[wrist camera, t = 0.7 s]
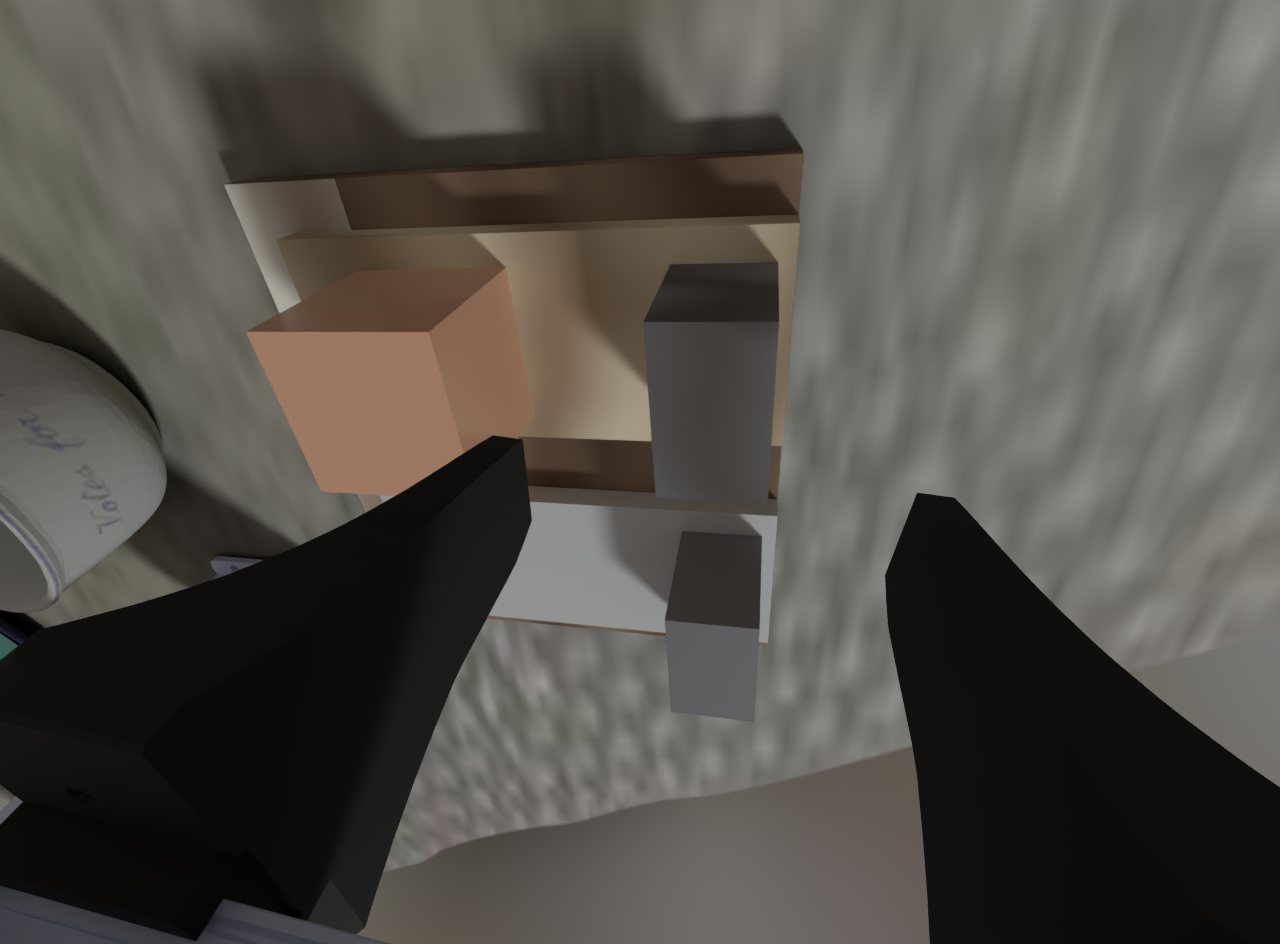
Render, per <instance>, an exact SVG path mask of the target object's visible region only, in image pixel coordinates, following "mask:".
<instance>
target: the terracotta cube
mask: <svg viewBox="0 0 1280 944" xmlns="http://www.w3.org/2000/svg"><path fill="white" fill-rule="evenodd" d="M246 333H247V335H248V338H249V340H250V342H251V344H252V346H253V348H254V350H255V352H256V354H257V356H258V359H259V361H260V363H261V365H262V367H263V369H264V371H265V373H266V375H267V378H268V380H269V382H270V384H271V386H272V388H273V390H274V392H275V394H276V397H277V399H278V401H279V403H280V405H281V407H282V409H283V411H284V413H285V415H286V418H287V420H288V422H289V424H290V426H291V428H292V430H293V432H294V434H295V437H296V439H297V441H298V443H299V445H300V447H301V449H302V451H303V453H304V456H305V458H306V460H307V462H308V464H309V466H310V468H311V470H312V472H313V474H314V477H315V479H316V481H317V483H318V485H319V487H320V489H321V491H322V492H337V493H354V494H371V495H388V496H396V495H397V494H399V493H401V492H403V491H404V490H406V489H408V488H409V487H411V486H413V485H414V484H416V483H417V482H419V481H421V480H422V479H424V478H425V477H427V476H429V475H430V474H432V473H433V472H435V471H437V470H438V469H440V468H441V467H443V466H444V465H446V464H448V463H449V462H451V461H452V460H454V459H455V458H457V457H458V456H460V455H462V454H463V453H465V452H466V451H468V450H469V449H471V448H472V447H474V446H476V445H477V444H479V443H481V442H482V441H484V440H486V439H487V438H489V437H491V436H493V435H494V436H501V437H509V438H516V439H518V438H519V436H520V435H521V433H522V432H523V430H524V429H525V427H526V426H527V424H528V422H529V421H530V419H531V418H532V416H533V415H534V413H535V412H534V407H533V402H532V397H531V392H530V387H529V382H528V377H527V372H526V366H525V361H524V356H523V351H522V346H521V341H520V336H519V331H518V326H517V321H516V316H515V311H514V306H513V301H512V296H511V291H510V286H509V281H508V276H507V271H506V268H465V269H416V270H367V271H356V272H355V273H353V274H351V275H349V276H347V277H345V278H344V279H342V280H340V281H338V282H336V283H334V284H333V285H331V286H329V287H327V288H325V289H323V290H322V291H320V292H318V293H316V294H314V295H312V296H311V297H309V298H307V299H305V300H303V301H301V302H300V303H298V304H296V305H294V306H292V307H290V308H289V309H287V310H285V311H283V312H281V313H279V314H278V315H276V316H274V317H272V318H270V319H268V320H267V321H265V322H263V323H261V324H259V325H257V326H256V327H254V328H252V329H250V330H248V331H246Z"/></svg>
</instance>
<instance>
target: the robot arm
mask: <svg viewBox="0 0 1280 944" xmlns="http://www.w3.org/2000/svg"><path fill="white" fill-rule="evenodd" d="M531 522H532V516H531V507H530V498H529V489H528V480H527V471H526V463H525V454H524V445H523V439H516V438H509V437H501V436H494V435H493V436H491V437H489V438H487V439H486V440H484V441H482V442H481V443H479V444H477V445H476V446H474V447H472V448H471V449H469V450H468V451H466V452H465V453H463V454H462V455H460V456H458V457H457V458H455V459H454V460H452V461H451V462H449V463H448V464H446V465H444V466H443V467H441V468H440V469H438V470H437V471H435V472H433V473H432V474H430V475H429V476H427V477H425V478H424V479H422V480H421V481H419V482H417V483H416V484H414V485H413V486H411V487H409V488H408V489H406V490H404V491H403V492H401V493H399V494H397V495H396V496H394V497H392V498H390V499H389V500H387V501H385V502H383V503H382V504H380V505H378V506H376V507H375V508H373V509H371V510H369V511H368V512H366V513H364V514H362V515H361V516H359V517H357V518H355V519H353V520H351V521H349V522H348V523H346V524H344V525H342V526H340V527H338V528H336V529H334V530H332V531H330V532H327V533H325V534H323V535H321V536H319V537H317V538H315V539H312V540H310V541H308V542H306V543H304V544H302V545H299V546H297V547H295V548H293V549H290V550H288V551H286V552H283V553H280V554H278V555H275V556H273V557H270V558H268V559H265V560H260V559H248V558H237V557H225V556H216V557H215V558H214V559H213V560H212V561H211V566H212V568H213V569H214V571H215V572H216V574H217V575H216V576H215V577H214V578H213V579H212V580H210V581H207V582H205V583H202V584H199V585H196V586H193V587H190V588H187V589H184V590H181V591H177V592H174V593H171V594H168V595H165V596H162V597H158V598H155V599H152V600H149V601H145V602H142V603H138V604H135V605H132V606H128V607H124V608H121V609H117V610H113V611H109V612H105V613H102V614H98V615H94V616H90V617H87V618H83V619H79V620H75V621H72V622H68V623H64V624H60V625H56V626H52V627H48V628H44V629H40V630H38V631H36V632H35V633H33V634H32V635H31V636H29V637H28V638H27V639H26V640H24V641H23V642H22V643H21V644H19V645H18V646H17V647H16V648H15V649H13V650H12V651H11V652H10V653H8V654H7V655H6V656H5V657H3V658H2V659H1V660H0V784H1V785H2V786H3V787H5V788H6V789H7V790H8V791H10V792H11V793H12V794H13V795H15V797H14V798H13V799H12V800H11V801H10V802H9V803H8V804H7V805H6V807H4V808H3V809H2V810H1V811H0V944H389V943H386V942H382V941H378V940H375V939H371V938H367V937H363V936H360V935H356V934H357V933H359V932H360V931H361V930H362V929H363V928H365V926H366V923H367V919H368V916H369V913H370V910H371V906H372V903H373V900H374V897H375V894H376V891H377V888H378V885H379V882H380V879H381V876H382V873H383V870H384V867H385V864H386V861H387V858H388V855H389V852H390V848H391V845H392V842H393V839H394V837H395V834H396V831H397V828H398V825H399V823H400V820H401V817H402V814H403V811H404V809H405V806H406V803H407V800H408V797H409V795H410V792H411V789H412V786H413V783H414V781H415V778H416V775H417V773H418V770H419V768H420V765H421V762H422V760H423V757H424V755H425V752H426V749H427V747H428V744H429V742H430V739H431V736H432V734H433V731H434V729H435V726H436V724H437V721H438V719H439V717H440V714H441V712H442V709H443V707H444V704H445V702H446V700H447V697H448V695H449V692H450V690H451V688H452V685H453V683H454V680H455V678H456V676H457V674H458V672H459V670H460V668H461V666H462V664H463V662H464V660H465V658H466V656H467V654H468V652H469V650H470V649H471V647H472V645H473V643H474V641H475V639H476V637H477V636H478V634H479V632H480V630H481V628H482V626H483V625H484V623H485V621H486V619H487V617H488V615H489V613H490V612H491V610H492V608H493V606H494V604H495V602H496V601H497V599H498V597H499V595H500V593H501V591H502V589H503V587H504V586H505V584H506V582H507V580H508V578H509V576H510V574H511V572H512V570H513V568H514V566H515V565H516V562H517V560H518V557H519V554H520V552H521V549H522V547H523V544H524V541H525V539H526V536H527V533H528V530H529V527H530V524H531ZM885 582H886V603H887V616H888V627H889V633H890V638H891V643H892V648H893V653H894V658H895V663H896V668H897V673H898V678H899V683H900V688H901V693H902V697H903V702H904V707H905V712H906V717H907V722H908V726H909V731H910V736H911V741H912V746H913V752H914V758H915V765H916V771H917V780H918V790H919V800H920V811H921V821H922V830H923V844H924V856H925V871H926V882H927V897H928V915H929V934H930V944H1280V787H1279V786H1277V785H1276V784H1274V783H1273V782H1271V781H1270V780H1268V779H1267V778H1265V777H1264V776H1263V775H1261V774H1260V773H1258V772H1257V771H1255V770H1254V769H1253V768H1251V767H1250V766H1248V765H1247V764H1245V763H1244V762H1243V761H1241V760H1240V759H1239V758H1237V757H1236V756H1234V755H1233V754H1232V753H1231V752H1229V751H1228V750H1226V749H1225V748H1224V747H1222V746H1221V745H1220V744H1218V743H1217V742H1216V741H1214V740H1213V739H1212V738H1210V737H1209V736H1208V735H1206V734H1205V733H1204V732H1202V731H1201V730H1200V729H1198V728H1197V727H1195V726H1194V725H1193V724H1191V723H1190V722H1189V721H1187V720H1186V719H1185V718H1184V717H1182V716H1181V715H1180V714H1178V713H1177V712H1176V711H1175V710H1173V709H1172V708H1171V707H1170V706H1168V705H1167V704H1166V703H1164V702H1163V701H1162V700H1161V699H1159V698H1158V697H1157V696H1156V695H1155V694H1153V693H1152V692H1151V691H1150V690H1149V689H1147V688H1146V687H1145V686H1144V685H1143V684H1141V683H1140V682H1139V681H1138V680H1137V679H1136V678H1134V677H1133V676H1132V675H1131V674H1130V673H1128V672H1127V671H1126V670H1125V669H1124V668H1122V667H1121V666H1120V665H1119V664H1118V663H1116V662H1115V661H1114V660H1113V659H1112V658H1111V657H1110V656H1108V655H1107V654H1106V653H1105V652H1104V651H1103V650H1102V649H1101V648H1099V647H1098V646H1097V645H1096V644H1095V643H1094V642H1093V641H1092V640H1091V639H1090V638H1089V637H1088V636H1086V635H1085V634H1084V633H1083V632H1082V631H1081V630H1080V629H1079V628H1078V627H1077V626H1076V625H1075V624H1074V623H1073V622H1072V621H1071V620H1070V619H1069V618H1068V617H1067V616H1065V615H1064V614H1063V613H1062V612H1061V611H1060V610H1059V609H1058V608H1057V607H1056V606H1055V605H1054V604H1053V603H1052V602H1051V601H1050V600H1049V599H1048V598H1047V597H1046V596H1045V595H1044V594H1043V593H1042V592H1041V591H1040V590H1039V589H1038V588H1037V587H1036V585H1035V584H1034V583H1033V582H1032V581H1031V580H1030V579H1029V578H1028V577H1027V576H1026V575H1025V574H1024V573H1023V572H1022V571H1021V570H1020V569H1019V568H1018V567H1017V565H1016V564H1015V563H1014V562H1013V561H1012V560H1011V559H1010V558H1009V557H1008V556H1007V555H1006V553H1005V552H1004V551H1003V550H1002V549H1001V548H1000V547H999V546H998V545H997V544H996V542H995V541H994V540H993V539H992V538H991V537H990V536H989V535H988V534H987V532H986V531H985V530H984V529H983V528H982V527H981V526H980V525H979V524H978V522H977V521H976V520H975V519H974V518H973V517H972V516H971V515H970V514H969V513H968V511H967V510H966V509H965V508H964V507H963V506H962V505H961V504H960V503H959V502H958V501H957V500H956V499H955V498H952V497H945V496H937V495H930V494H923V493H917V495H916V497H915V500H914V502H913V505H912V508H911V510H910V513H909V515H908V518H907V520H906V523H905V526H904V528H903V531H902V533H901V536H900V538H899V541H898V543H897V546H896V549H895V551H894V554H893V556H892V559H891V561H890V564H889V567H888V569H887V572H886V574H885Z"/></svg>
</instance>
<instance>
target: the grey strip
mask: <svg viewBox="0 0 1280 944" xmlns="http://www.w3.org/2000/svg"><path fill="white" fill-rule="evenodd" d="M528 489H529V498H530V507H531V516H532V522H531V524H530V527H529V530H528V533H527V536H526V539H525V541H524V544H523V547H522V549H521V552H520V554H519V557H518V560H517V562H516V565H515V566H514V568H513V570H512V572H511V574H510V576H509V578H508V580H507V582H506V584H505V586H504V587H503V589H502V591H501V593H500V595H499V597H498V599H497V601H496V602H495V604H494V606H493V608H492V610H491V612H490V613H489V615H488V616H498V617H509V618H519V619H529V620H539V621H549V622H559V623H569V624H580V625H590V626H600V627H610V628H620V629H630V630H641V631H651V632H661V633H666V646H667V659H668V673H669V687H670V701H671V712H679V713H687V714H696V715H704V716H712V717H720V718H728V719H736V720H744V721H752V722H754V709H755V693H756V678H757V662H758V646H759V642H762V643H768V633H769V620H770V607H771V594H772V581H773V568H774V555H775V542H776V529H777V499H768V504H766V503H747V502H729V501H711V500H693V499H675V498H656V494H655V493H650V492H632V491H613V490H594V489H575V488H557V487H538V486H528ZM380 497H381V499H382V502H385V501H387V500H389V499H390V498H392V497H394V496H388V495H380Z"/></svg>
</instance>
